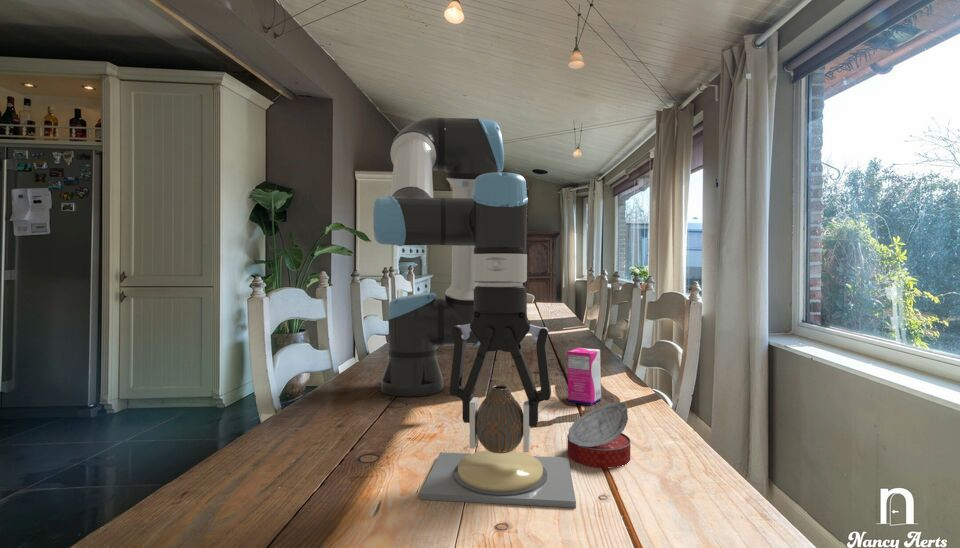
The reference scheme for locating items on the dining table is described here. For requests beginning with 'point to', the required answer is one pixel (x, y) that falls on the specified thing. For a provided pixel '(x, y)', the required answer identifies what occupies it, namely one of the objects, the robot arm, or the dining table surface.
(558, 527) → the dining table surface
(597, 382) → the supplement box
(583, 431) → the canned food
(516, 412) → the vase
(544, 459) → the board
